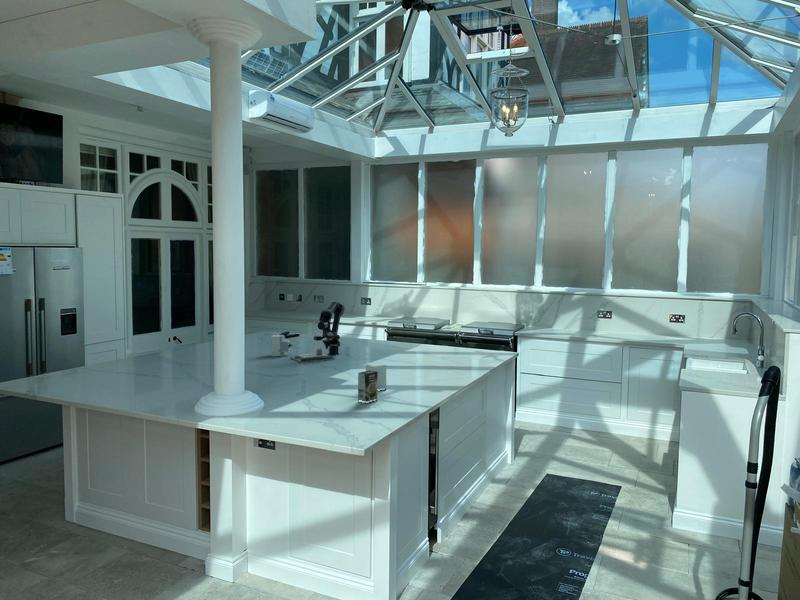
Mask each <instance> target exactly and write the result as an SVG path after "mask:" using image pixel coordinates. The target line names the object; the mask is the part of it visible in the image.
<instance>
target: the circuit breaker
mask: <svg viewBox="0 0 800 600" xmlns="http://www.w3.org/2000/svg"><path fill="white" fill-rule="evenodd" d="M270 342H271V343H272V345H271V347H272V349H271V350H270V355H271V356H272V357H273V356H282V357H283V356H285V352H287V353H288V352H289V351H290V350H291V347H292V346H293V345H292V344H291V340H290V339H285V335H284V334H273V335H271V336H270Z"/></svg>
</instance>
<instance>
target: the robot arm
mask: <svg viewBox="0 0 800 600" xmlns="http://www.w3.org/2000/svg"><path fill="white" fill-rule="evenodd" d="M345 309H346V308H345V306H344V305H343V304H341V303H340V302H339V301H332V302H331V304H330V305H329V306H328V308H326V309H324V310H323V309H322V311H321V312H320V315H319V319H318V320H319V322H318V323H317V329H319V330H320V331H322V335H314V336H313V340H314V341H316V342H317V341H319V342H320V341H322V343H323V344H324V347H325V349H326V350H328V353H327V355H328V354H329V355H330V354H331V355H330V356H334V355H333V354H338V355H340V353H339V348H340V347H341V342H340V340H339V339H341V336H340V335H339V334H338V332H339V326H340V323H341V321H340V320H341V317H342V316H343V315H344V312H345ZM332 318H333V320H332ZM331 321H332V325H331Z"/></svg>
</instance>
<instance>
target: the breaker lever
mask: <svg viewBox="0 0 800 600" xmlns="http://www.w3.org/2000/svg"><path fill="white" fill-rule="evenodd" d="M315 349H316V353H317V355H322V353H323V347H316V348H315Z"/></svg>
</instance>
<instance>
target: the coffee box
mask: <svg viewBox="0 0 800 600" xmlns="http://www.w3.org/2000/svg"><path fill="white" fill-rule="evenodd" d="M357 375H358V376H357V379H358V381H357V401H358V400H362V401H370V400H374V399H377V400H378V392H379V391H378V390H377V379H378V372H376V371H370V370H369V371H366V370H365V371H361V372H358V374H357Z"/></svg>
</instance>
